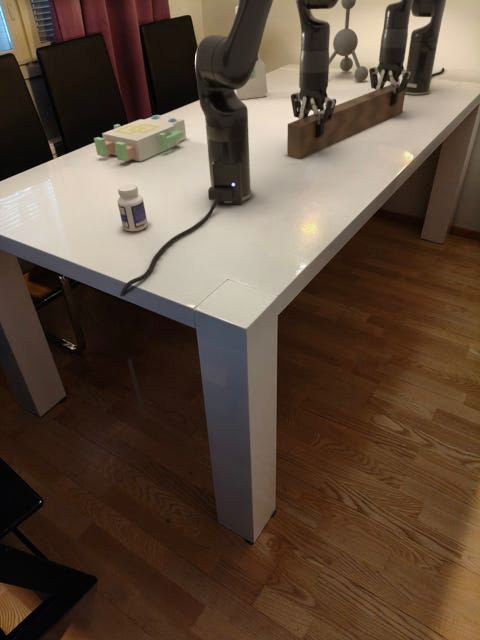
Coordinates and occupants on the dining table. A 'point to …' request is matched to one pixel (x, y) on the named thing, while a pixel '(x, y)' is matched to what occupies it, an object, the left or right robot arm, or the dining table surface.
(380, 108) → the beam
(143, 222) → the pill bottle
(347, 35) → the molecular model
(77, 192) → the dining table surface
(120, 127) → the decorative block
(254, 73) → the electronic device
